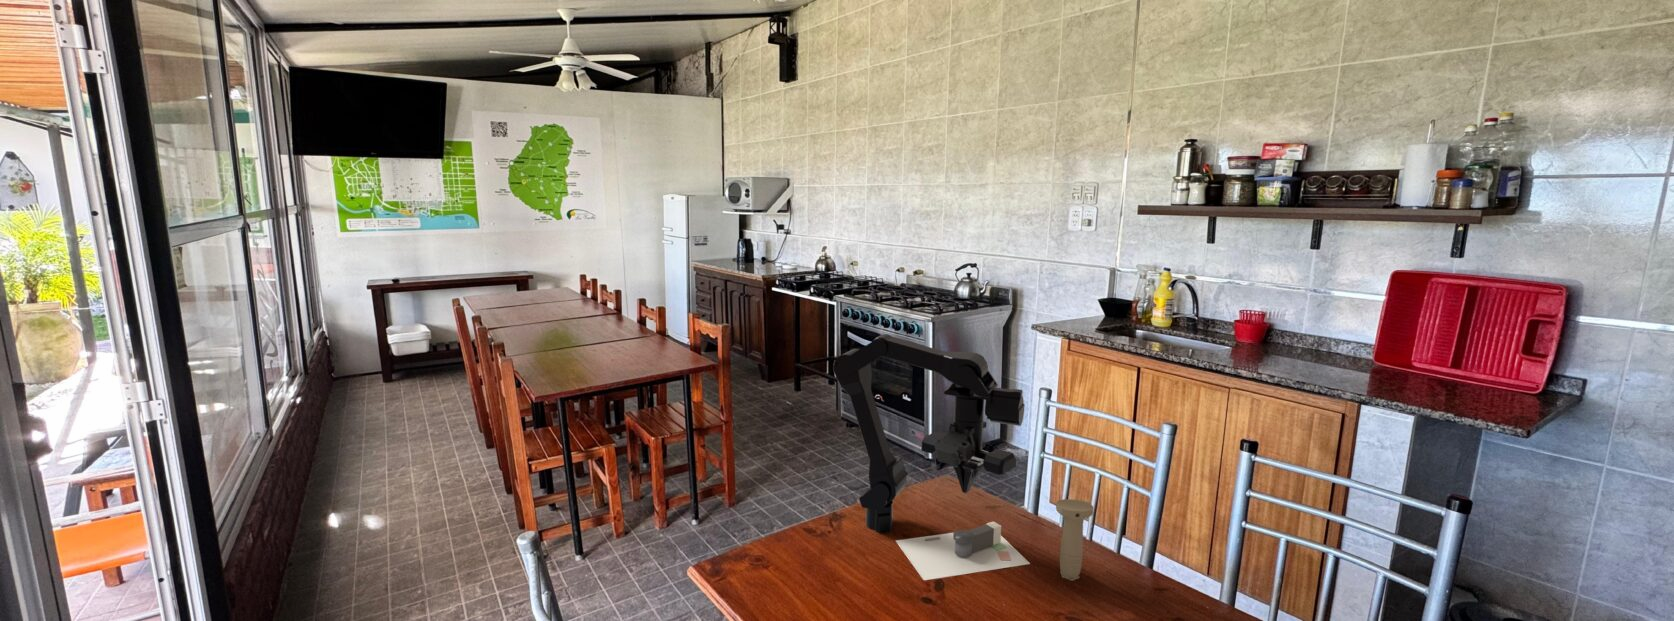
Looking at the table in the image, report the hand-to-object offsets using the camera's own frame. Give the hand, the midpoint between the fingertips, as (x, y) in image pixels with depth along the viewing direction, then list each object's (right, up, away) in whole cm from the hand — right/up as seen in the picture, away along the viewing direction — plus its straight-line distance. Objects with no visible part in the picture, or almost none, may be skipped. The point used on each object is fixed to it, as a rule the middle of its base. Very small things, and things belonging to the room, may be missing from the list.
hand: (965, 492), depth 138 cm
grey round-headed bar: (+2, -11, -1) cm, 11 cm away
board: (-1, -12, -1) cm, 13 cm away
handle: (+18, -14, -9) cm, 25 cm away
